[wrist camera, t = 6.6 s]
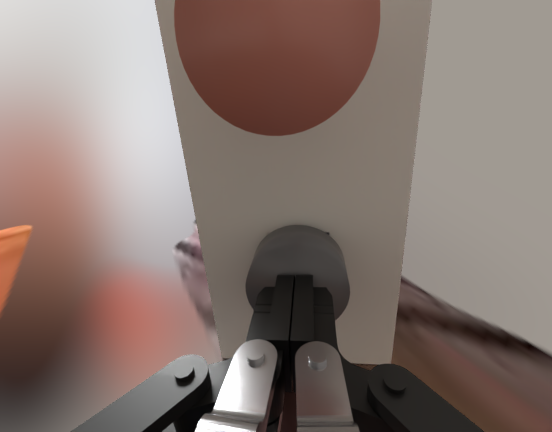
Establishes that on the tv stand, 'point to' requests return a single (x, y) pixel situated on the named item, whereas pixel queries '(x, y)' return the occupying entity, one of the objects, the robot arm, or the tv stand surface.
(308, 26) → the knob
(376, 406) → the robot arm
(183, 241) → the tv stand surface
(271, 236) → the knob
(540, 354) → the tv stand surface
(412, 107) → the mount
